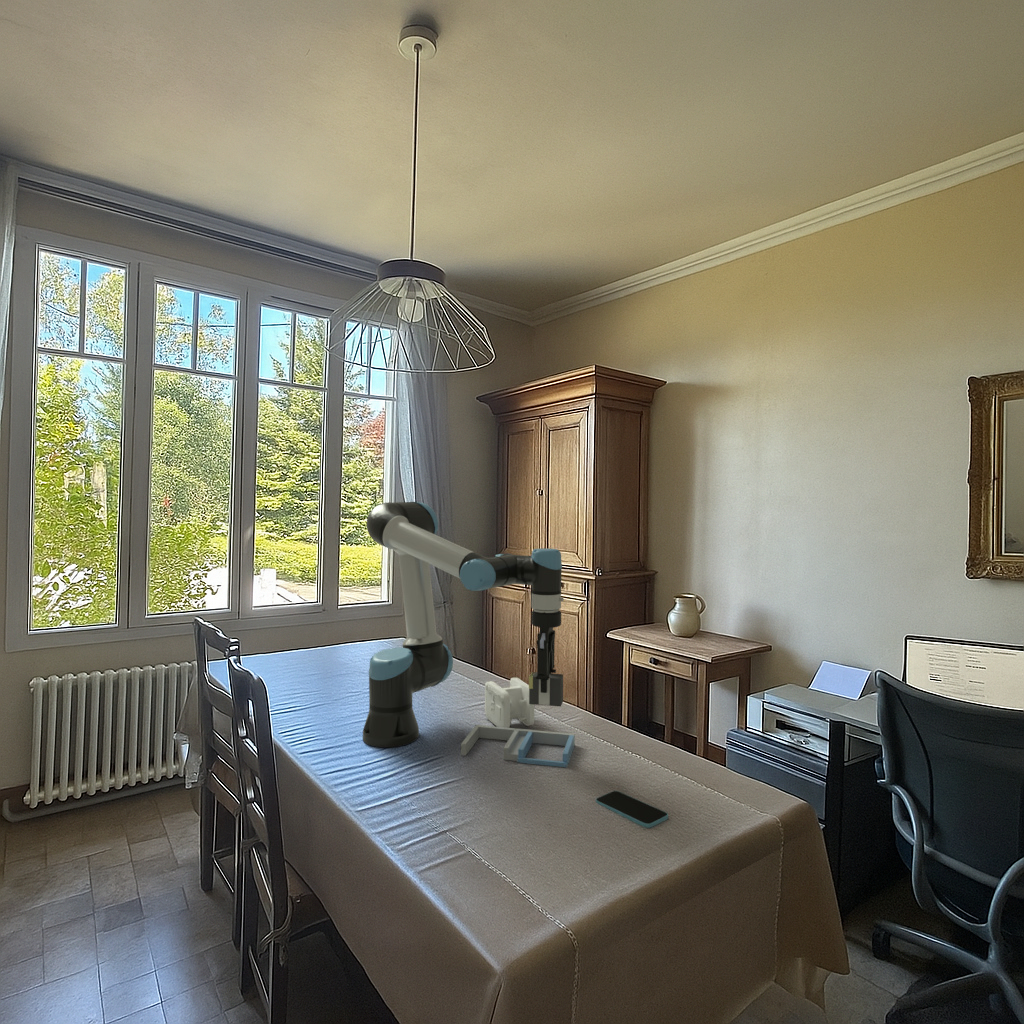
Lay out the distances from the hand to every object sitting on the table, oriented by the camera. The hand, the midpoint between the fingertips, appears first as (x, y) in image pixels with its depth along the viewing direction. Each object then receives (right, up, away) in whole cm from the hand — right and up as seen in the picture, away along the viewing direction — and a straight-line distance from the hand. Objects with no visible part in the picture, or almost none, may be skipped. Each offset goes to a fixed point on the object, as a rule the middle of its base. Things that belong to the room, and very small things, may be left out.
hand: (545, 701), depth 164 cm
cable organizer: (-9, -14, +24) cm, 29 cm away
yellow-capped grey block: (0, 0, 0) cm, 0 cm away
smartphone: (+17, -16, -26) cm, 35 cm away
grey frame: (-7, -14, +5) cm, 17 cm away
